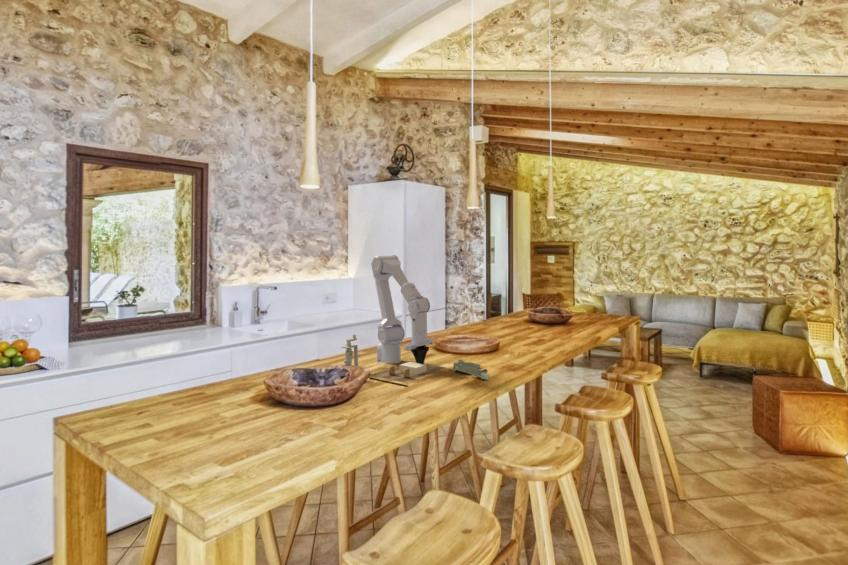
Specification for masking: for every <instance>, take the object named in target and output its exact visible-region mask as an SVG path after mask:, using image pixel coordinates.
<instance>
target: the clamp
mask: <svg viewBox="0 0 848 565" xmlns="http://www.w3.org/2000/svg"><path fill="white" fill-rule="evenodd" d="M356 336H357V335H356V334H352V338H351V337H350V338H348V339H347V338H346V340H345V342H346V344H345V345H342V346H341V349H345V351H344V354H345V355H344V356H345V357H344V361H343V366H342V367H344V366H351V367H352V362H353V365H354V366H358V367H359V354H358V351H359V350H358V344H352V343H351V342H354V341H357V340H358V338H357V337H356Z"/></svg>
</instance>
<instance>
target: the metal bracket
mask: <svg viewBox="0 0 848 565" xmlns="http://www.w3.org/2000/svg"><path fill="white" fill-rule="evenodd" d="M452 371H453V372H454V373H456V371H458V372H461V373H462V372H463V373H466V374H469V375H471V376H472V375H473V376H476V377H479V378H480V379H481V380H485V381H490V380H491V379H490V378H489V375H488V369H487V368H484V369H482V370H481V364H478V363H474V362H471V361H470V362H469V361H463V359H458V360H457V361H455V362H453V368H452Z"/></svg>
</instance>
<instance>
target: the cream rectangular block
mask: <svg viewBox="0 0 848 565" xmlns="http://www.w3.org/2000/svg"><path fill="white" fill-rule="evenodd" d="M415 362H416V361H407V362H404V363H401V364H399V366H400V372H404V369H409V370H410V374H415V375H417V374H420V373H423V372H426V371H427V365H426V364H427V363H426V364H425V363H424V364H421V363H415Z"/></svg>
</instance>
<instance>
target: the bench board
mask: <svg viewBox="0 0 848 565" xmlns="http://www.w3.org/2000/svg"><path fill="white" fill-rule="evenodd" d="M414 362H415V363H416V361H414ZM426 365H427V371H426V372H423V373H420V374H417V375H415V374H410V370H409V369H404V372H400V365H398V366H397V365H390V366H388V368H387V369H384V370H380V371H377V372H374V373H372V374H370V376H371V377H370V376H369V378H368V379H369V380H372V381H376V382H382V383H386V384H390V385H395V386H400V387H404V388H406V387H409V385H407V384H402V383H408V382H410V381H414V380H416V379H419V378H422V377H425V376H428V375H431V374H433V373H436V372H439V371H441V370H444V369H446V367H443V366H439V365H438V366H437V365H433V364H427V363H426ZM374 377H377V378H374ZM380 378H382V379H380ZM384 379H386V380H384ZM388 380H390V381H388ZM393 381H395V382H393ZM398 382H401V383H398Z"/></svg>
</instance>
